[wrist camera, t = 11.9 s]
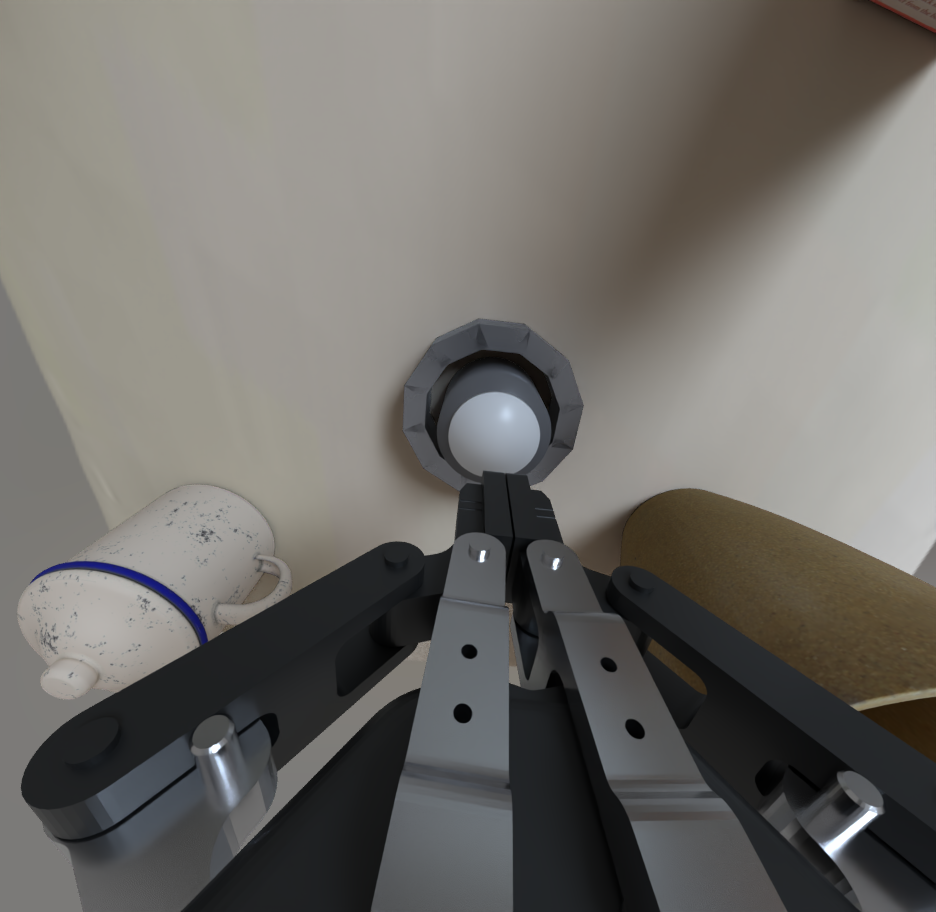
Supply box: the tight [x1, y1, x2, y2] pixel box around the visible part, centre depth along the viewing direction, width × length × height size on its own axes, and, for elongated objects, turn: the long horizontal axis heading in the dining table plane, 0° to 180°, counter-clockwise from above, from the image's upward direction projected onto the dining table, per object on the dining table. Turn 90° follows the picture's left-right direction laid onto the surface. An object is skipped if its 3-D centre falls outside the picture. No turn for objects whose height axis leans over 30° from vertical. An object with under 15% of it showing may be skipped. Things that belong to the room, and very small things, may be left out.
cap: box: [437, 357, 551, 483], centre depth 21 cm, size 6×6×5 cm
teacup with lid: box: [17, 484, 292, 700], centre depth 23 cm, size 12×9×12 cm
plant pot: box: [620, 488, 936, 763], centre depth 20 cm, size 15×15×16 cm
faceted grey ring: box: [403, 319, 584, 491], centre depth 22 cm, size 10×10×3 cm
